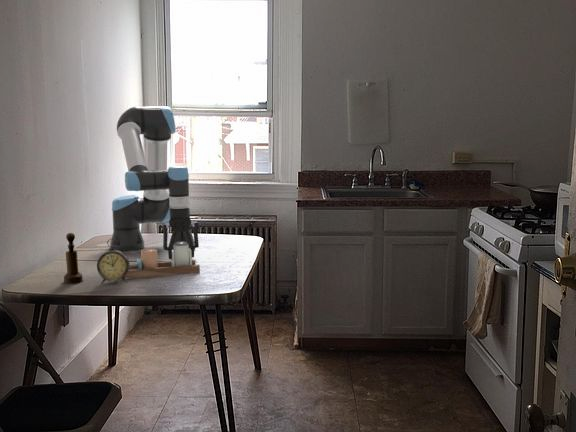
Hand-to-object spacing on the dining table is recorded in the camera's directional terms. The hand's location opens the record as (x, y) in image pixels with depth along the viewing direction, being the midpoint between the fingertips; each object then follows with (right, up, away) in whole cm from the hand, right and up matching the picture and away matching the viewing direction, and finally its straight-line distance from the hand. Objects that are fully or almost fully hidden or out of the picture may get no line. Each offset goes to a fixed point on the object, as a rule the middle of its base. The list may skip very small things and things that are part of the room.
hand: (181, 266), depth 264 cm
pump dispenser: (-3, +1, +21) cm, 22 cm away
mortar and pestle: (-37, -5, -13) cm, 40 cm away
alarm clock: (-22, -5, -16) cm, 28 cm away
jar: (0, 0, 0) cm, 0 cm away
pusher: (-18, -2, -5) cm, 19 cm away
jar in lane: (-12, -3, -3) cm, 12 cm away
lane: (-8, -2, -2) cm, 9 cm away
